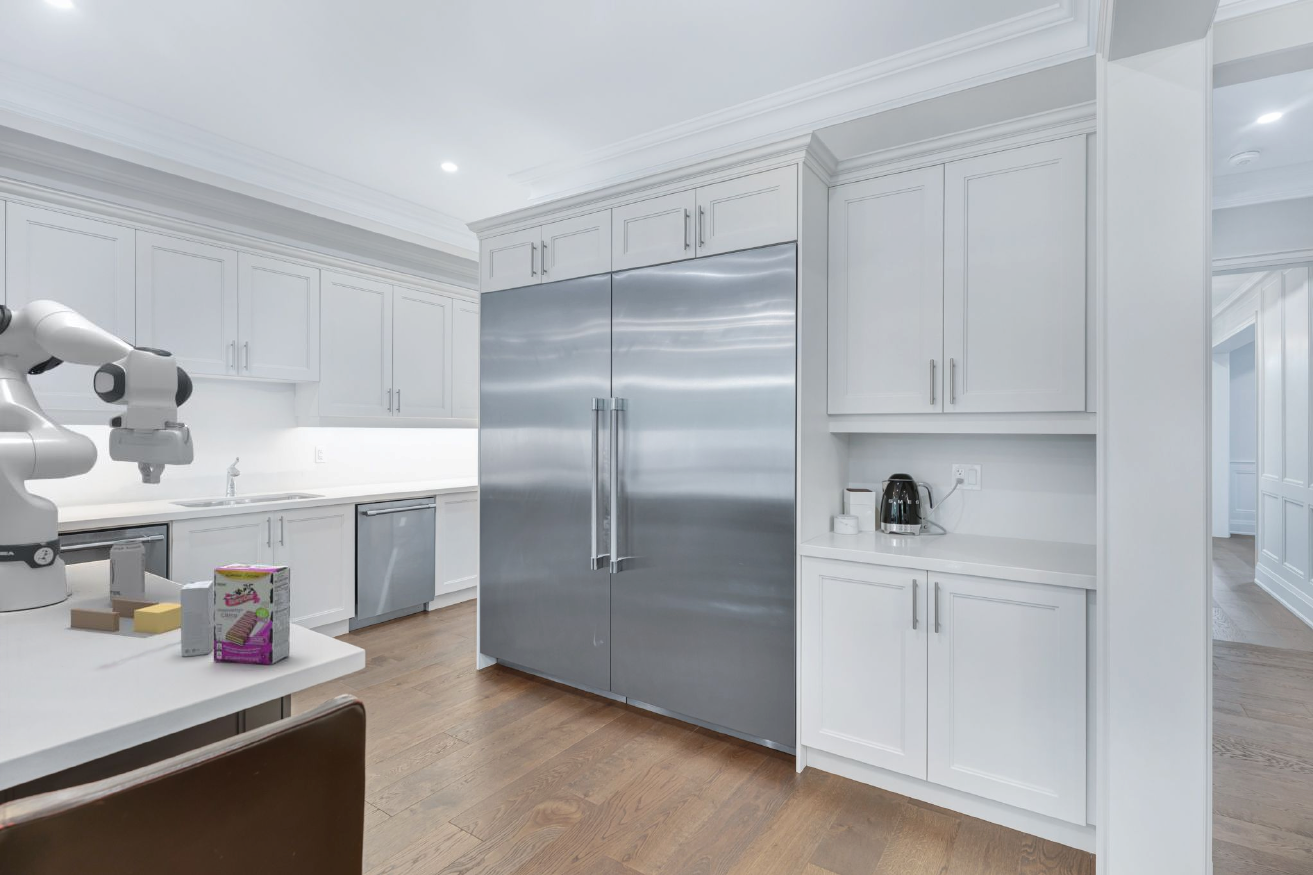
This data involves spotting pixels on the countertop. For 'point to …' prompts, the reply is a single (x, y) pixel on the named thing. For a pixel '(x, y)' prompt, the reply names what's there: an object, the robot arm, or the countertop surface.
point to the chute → (111, 618)
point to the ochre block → (158, 618)
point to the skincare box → (197, 618)
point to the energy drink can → (127, 570)
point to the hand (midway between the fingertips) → (151, 483)
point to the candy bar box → (251, 613)
